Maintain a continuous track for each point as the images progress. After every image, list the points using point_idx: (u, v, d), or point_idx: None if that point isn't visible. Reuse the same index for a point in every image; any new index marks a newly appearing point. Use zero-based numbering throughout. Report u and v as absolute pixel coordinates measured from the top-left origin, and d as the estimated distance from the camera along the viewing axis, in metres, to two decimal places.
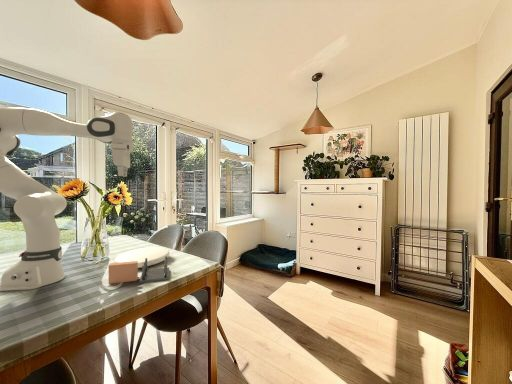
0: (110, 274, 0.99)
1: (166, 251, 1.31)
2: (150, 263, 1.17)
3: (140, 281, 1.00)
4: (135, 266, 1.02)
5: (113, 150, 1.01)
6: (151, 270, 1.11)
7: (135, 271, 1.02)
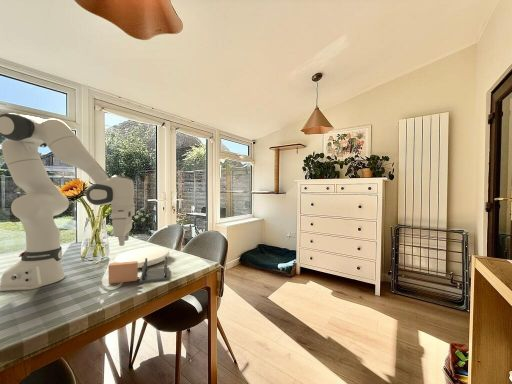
0: (110, 274, 0.99)
1: (166, 251, 1.31)
2: (150, 263, 1.17)
3: (140, 281, 1.00)
4: (135, 266, 1.02)
5: (113, 221, 0.92)
6: (151, 270, 1.11)
7: (135, 271, 1.02)
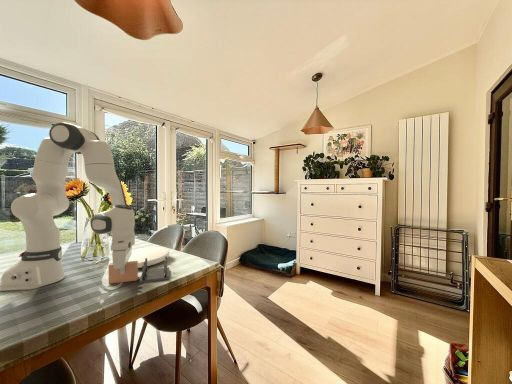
0: (110, 274, 0.99)
1: (166, 251, 1.31)
2: (150, 263, 1.17)
3: (140, 281, 1.00)
4: (135, 266, 1.02)
5: (113, 253, 0.93)
6: (151, 270, 1.11)
7: (135, 271, 1.02)
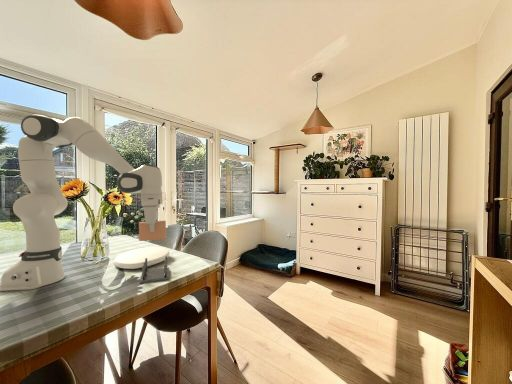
0: (140, 231, 1.01)
1: (166, 251, 1.31)
2: (150, 263, 1.17)
3: (140, 281, 1.00)
4: (164, 224, 1.04)
5: (145, 208, 0.95)
6: (151, 270, 1.11)
7: (164, 229, 1.04)
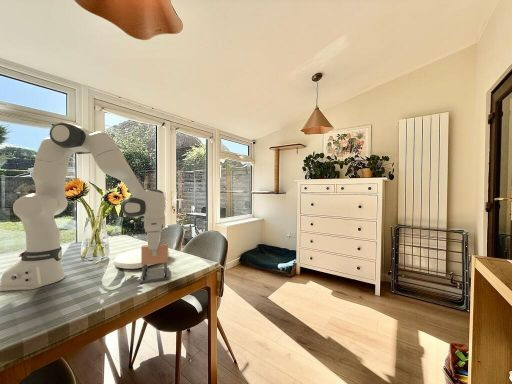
0: (143, 255, 1.02)
1: None
2: None
3: (140, 281, 1.00)
4: (166, 248, 1.05)
5: (148, 234, 0.95)
6: (151, 270, 1.11)
7: (166, 253, 1.05)
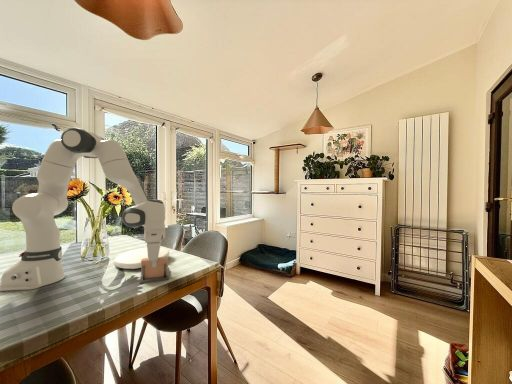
0: None
1: (166, 251, 1.31)
2: None
3: (140, 281, 1.00)
4: (166, 261, 1.05)
5: (148, 245, 0.95)
6: None
7: (166, 266, 1.05)
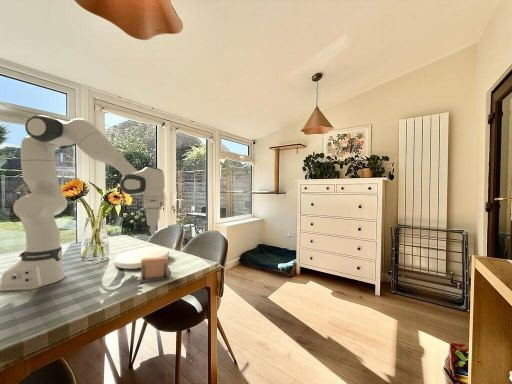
0: None
1: (166, 251, 1.31)
2: None
3: (140, 281, 1.00)
4: (166, 261, 1.05)
5: (147, 210, 0.96)
6: None
7: (166, 266, 1.05)
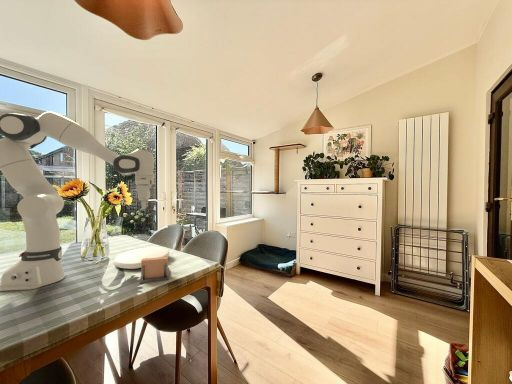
0: None
1: (166, 251, 1.31)
2: None
3: (140, 281, 1.00)
4: (166, 261, 1.05)
5: (138, 186, 1.08)
6: None
7: (166, 266, 1.05)
